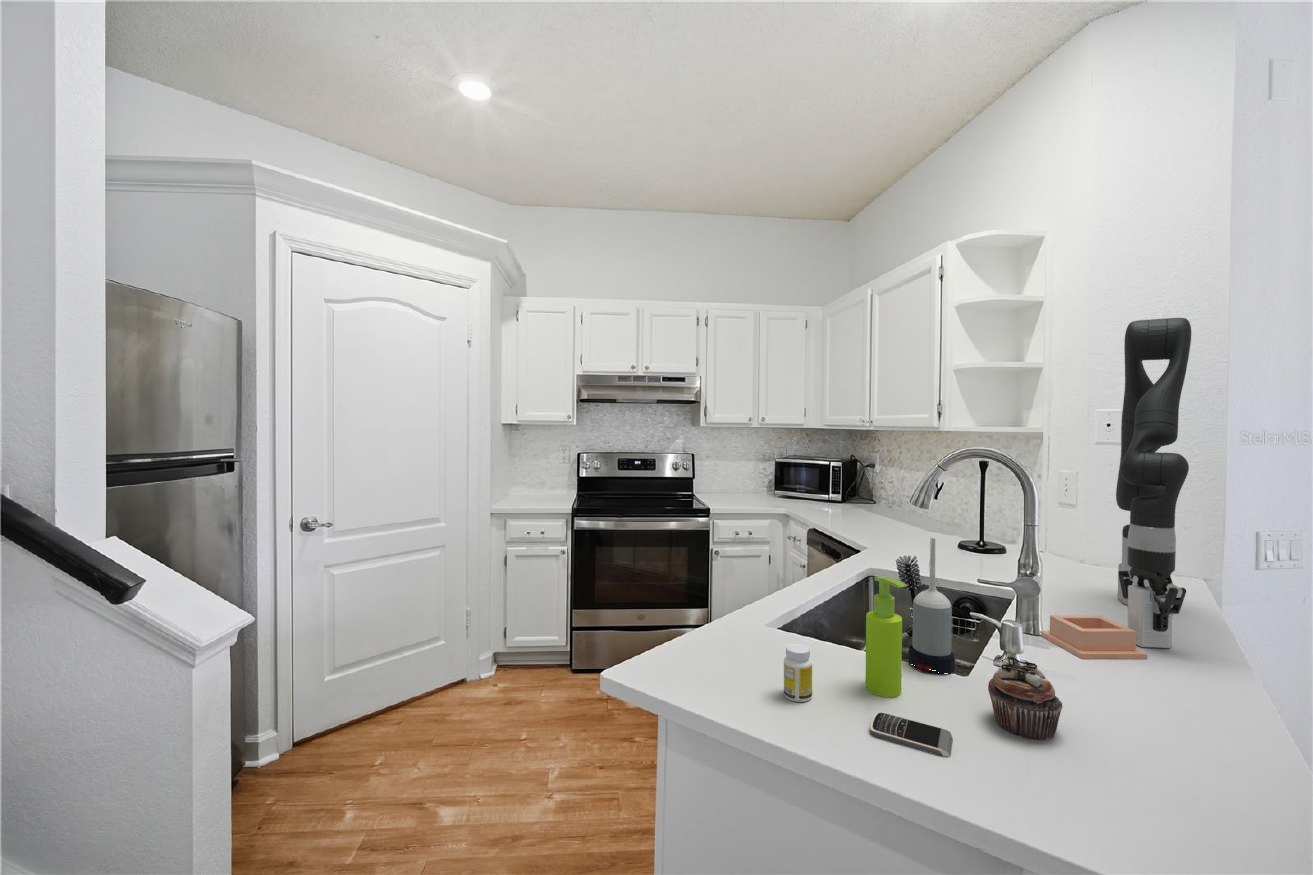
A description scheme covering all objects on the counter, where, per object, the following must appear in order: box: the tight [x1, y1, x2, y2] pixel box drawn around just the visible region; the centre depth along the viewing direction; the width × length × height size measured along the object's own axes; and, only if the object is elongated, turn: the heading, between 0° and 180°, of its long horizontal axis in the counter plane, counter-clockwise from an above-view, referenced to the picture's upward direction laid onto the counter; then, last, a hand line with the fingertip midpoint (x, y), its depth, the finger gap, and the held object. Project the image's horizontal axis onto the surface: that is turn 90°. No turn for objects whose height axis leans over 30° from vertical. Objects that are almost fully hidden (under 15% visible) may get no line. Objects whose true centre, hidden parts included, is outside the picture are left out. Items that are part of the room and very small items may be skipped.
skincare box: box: [1126, 585, 1173, 649], centre depth 116 cm, size 6×4×12 cm
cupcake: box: [987, 656, 1064, 741], centre depth 86 cm, size 10×10×10 cm
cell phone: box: [869, 712, 954, 758], centre depth 83 cm, size 6×11×1 cm, turn 58°
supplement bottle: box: [783, 643, 813, 703], centre depth 95 cm, size 5×5×8 cm
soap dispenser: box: [864, 575, 908, 698], centre depth 96 cm, size 6×7×20 cm
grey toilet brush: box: [907, 537, 956, 676], centre depth 106 cm, size 8×8×25 cm
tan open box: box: [1039, 615, 1148, 660], centre depth 115 cm, size 12×13×5 cm
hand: (1148, 626), depth 116 cm, fingers closed on skincare box, 4 cm apart
